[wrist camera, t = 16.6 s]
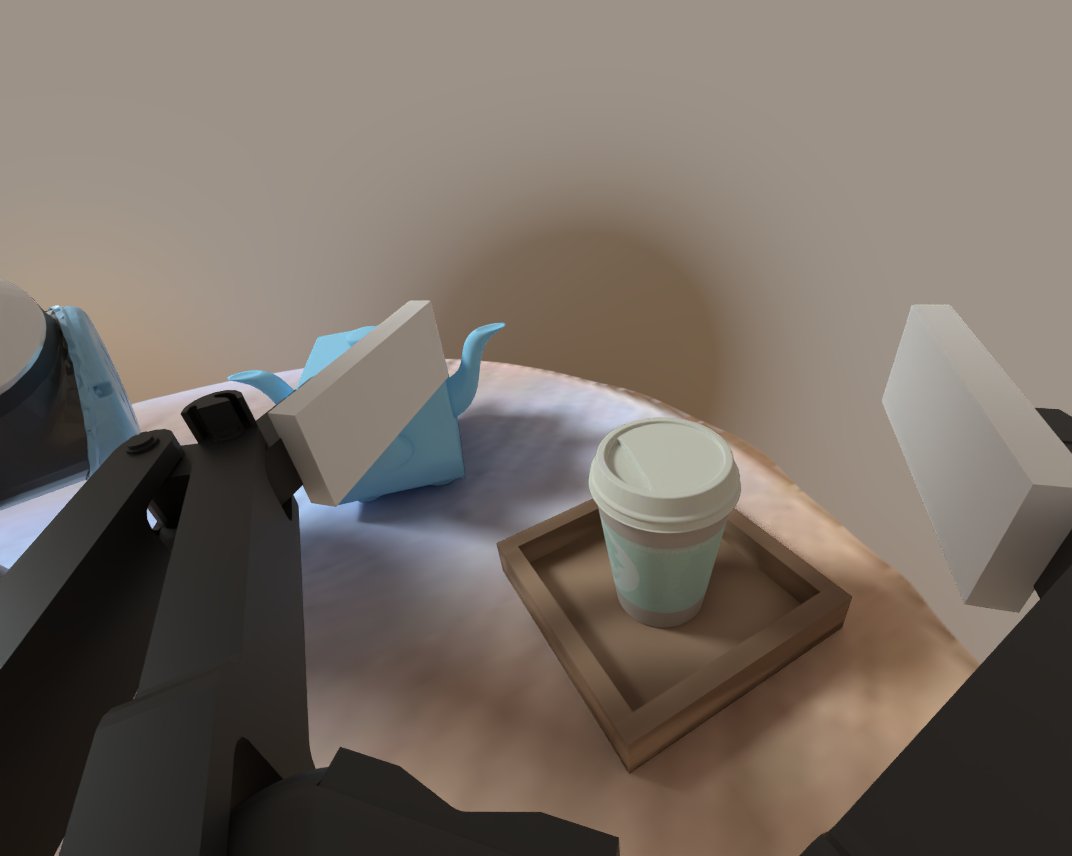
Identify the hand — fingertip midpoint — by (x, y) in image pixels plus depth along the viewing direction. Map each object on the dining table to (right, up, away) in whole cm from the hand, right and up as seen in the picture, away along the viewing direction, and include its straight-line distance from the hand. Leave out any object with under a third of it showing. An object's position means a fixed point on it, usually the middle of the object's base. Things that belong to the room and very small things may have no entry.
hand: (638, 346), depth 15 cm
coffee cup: (+6, -14, +21) cm, 26 cm away
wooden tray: (+5, -14, +21) cm, 26 cm away
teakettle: (-16, -7, +38) cm, 42 cm away
